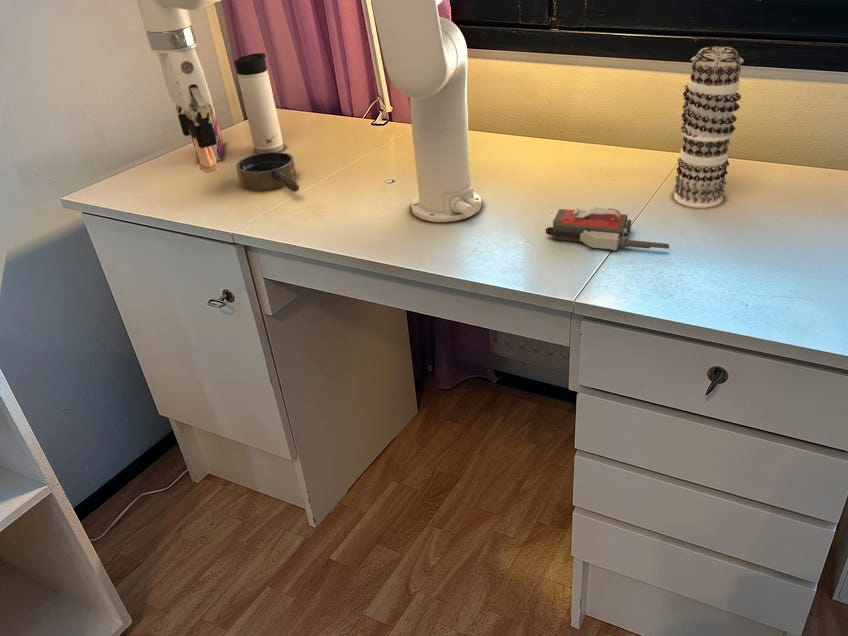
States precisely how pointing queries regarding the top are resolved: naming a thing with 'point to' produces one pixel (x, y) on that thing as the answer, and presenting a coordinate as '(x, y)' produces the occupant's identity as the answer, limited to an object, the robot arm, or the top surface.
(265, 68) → the travel mug
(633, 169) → the top surface
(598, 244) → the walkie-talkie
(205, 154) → the grandmother figurine
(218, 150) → the candy bar box
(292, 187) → the pan handle
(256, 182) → the pan
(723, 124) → the white patterned cylinder
